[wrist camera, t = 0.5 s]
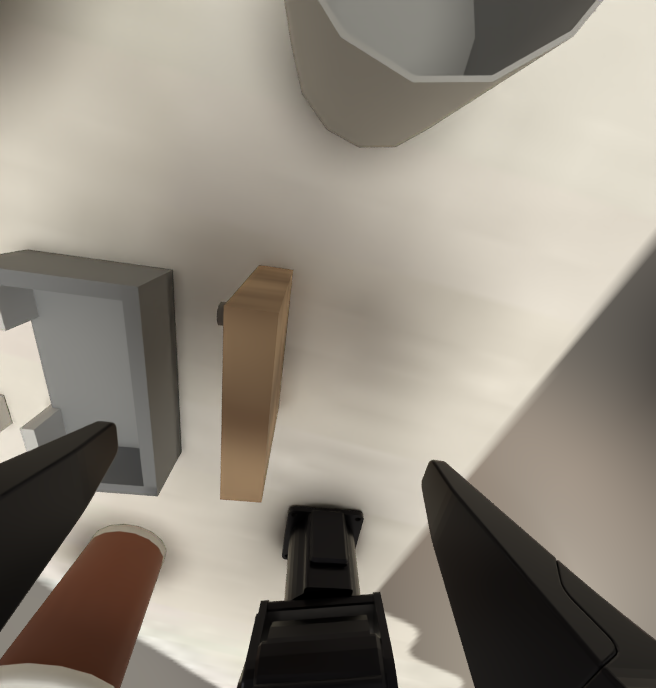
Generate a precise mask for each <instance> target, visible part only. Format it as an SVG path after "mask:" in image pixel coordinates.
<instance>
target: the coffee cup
mask: <svg viewBox="0 0 656 688" xmlns="http://www.w3.org/2000/svg"><path fill="white" fill-rule="evenodd" d="M165 553H166V548H165V546H164V544H163V542H162V540H161V539H160V538H158V537H157V536H156V535H155V534H154V533H152V532H150V531H148V530H146V529H143V528H141V527H138V526H132V525H126V524H120V525H110V526H107V527H105V528H103V529H101V530H98V531H97V533H96V534H95V535H94V536H93V538H92V539H91V541H90V542H89V544H88V545H87V547H86V548H85V549H84V550H83V552H82V553H81V554H80V556H79V557H78V558H77V560H76V561H75V562H74V564H73V565H72V566H71V567H70V569H69V570H68V571H67V573H66V574H65V575H64V577H63V578H62V579H61V581H60V582H59V583H58V584H57V586H56V587H55V588H54V590H53V591H52V592H51V594H50V595H49V596H48V598H47V599H46V600H45V602H44V603H43V604H42V606H41V607H40V608H39V609H38V611H37V612H36V613H35V615H34V616H33V617H32V618H31V620H30V621H29V622H28V624H27V625H26V626H25V628H24V629H23V630H22V632H21V633H20V634H19V636H18V637H17V638H16V639H15V641H14V642H13V643H12V645H11V646H10V647H9V648H8V650H7V651H6V653H5V654H4V655H3V657H2V658H1V659H0V688H120V687H121V683H122V681H123V678H124V675H125V672H126V669H127V666H128V663H129V660H130V657H131V654H132V651H133V648H134V645H135V642H136V639H137V636H138V634H139V631H140V628H141V625H142V622H143V619H144V616H145V613H146V610H147V607H148V604H149V601H150V598H151V595H152V592H153V589H154V586H155V583H156V581H157V578H158V575H159V572H160V569H161V566H162V563H163V561H164V559H165Z"/></svg>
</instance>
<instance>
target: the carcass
mask: <svg viewBox="0 0 656 688" xmlns="http://www.w3.org/2000/svg"><path fill="white" fill-rule="evenodd" d="M30 320H31V323H32V327H33V331H34V335H35V339H36V343H37V347H38V351H39V355H40V360H41V364H42V368H43V372H44V376H45V380H46V384H47V388H48V392H49V396H50V400H51V405H50V406H49V407H47V408H46V409H45V410H43V411H42V412H41V413H39V414H38V415H37V416H36V417H34V418H33V419H32V420H30V421H29V422H28V423H26V424H25V425H24V426H23V427H21V428H20V431H21V435H22V438H23V441H24V444H25V448H26V451H27V452H28V451H30V450H32V449H34V448H37V447H39V446H41V445H44V444H46V443H48V442H50V441H53V440H55V439H57V438H60V437H62V436H64V435H67V434H69V433H71V432H73V431H76V430H78V429H80V428H83V427H85V426H87V425H90V424H92V423H94V422H97V421H106V422H113V423H115V425H116V427H117V437H118V451H117V454H116V456H115V458H114V460H113V462H112V463H111V465H110V467H109V469H108V471H107V472H106V474H105V476H104V478H103V479H102V481H101V483H100V485H99V487H98V488H97V490H96V492H107V493H121V494H134V495H147V496H158V495H159V493H160V491H161V489H162V487H163V485H164V483H165V482H166V480H167V478H168V476H169V474H170V472H171V470H172V468H173V467H174V465H175V463H176V461H177V459H178V457H179V455H180V454H181V435H180V414H179V393H178V372H177V352H176V331H175V310H174V289H173V270H169V269H162V268H155V267H147V266H140V265H133V264H126V263H119V262H111V261H104V260H97V259H90V258H83V257H75V256H68V255H61V254H54V253H47V252H40V251H32V250H22V251H16V252H10V253H4V254H0V330H3V331H6V330H9V329H11V328H14V327H16V326H18V325H21V324H23V323H25V322H28V321H30ZM11 424H12V421H11V418H10V415H9V411H8V408H7V405H6V402H5V399H4V395H0V432H1V431H2V430H4V429H5V428H6V427H8V426H9V425H11Z"/></svg>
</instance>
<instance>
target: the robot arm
mask: <svg viewBox="0 0 656 688" xmlns="http://www.w3.org/2000/svg"><path fill="white" fill-rule="evenodd" d="M117 451H118V437H117V427H116V425H115V423H113V422H106V421H97V422H94V423H92V424H90V425H87V426H85V427H83V428H80V429H78V430H76V431H73V432H71V433H69V434H67V435H64V436H62V437H60V438H57V439H55V440H53V441H50V442H48V443H46V444H44V445H41V446H39V447H37V448H34V449H32V450H30V451H28V452H25V453H23V454H21V455H18V456H16V457H14V458H11V459H9V460H7V461H5V462H2V463H0V632H1V630H2V629H3V627H4V626H5V624H6V623H7V622H8V620H9V619H10V617H11V616H12V614H13V613H14V612H15V610H16V609H17V607H18V606H19V604H20V603H21V601H22V600H23V599H24V597H25V596H26V594H27V593H28V591H29V590H30V589H31V587H32V586H33V584H34V583H35V581H36V580H37V578H38V577H39V576H40V574H41V573H42V571H43V570H44V568H45V567H46V566H47V564H48V563H49V561H50V560H51V558H52V557H53V555H54V554H55V553H56V551H57V550H58V548H59V547H60V545H61V544H62V543H63V541H64V540H65V538H66V537H67V535H68V534H69V533H70V531H71V530H72V528H73V527H74V525H75V524H76V522H77V521H78V520H79V518H80V517H81V515H82V514H83V512H84V511H85V509H86V508H87V506H88V504H89V502H90V501H91V499H92V497H93V496H94V494H95V492H96V490H97V488H98V487H99V485H100V483H101V481H102V479H103V478H104V476H105V474H106V472H107V471H108V469H109V467H110V465H111V463H112V462H113V460H114V458H115V456H116V454H117ZM422 492H423V497H424V503H425V508H426V513H427V519H428V524H429V529H430V534H431V539H432V543H433V547H434V550H435V553H436V557H437V560H438V564H439V567H440V571H441V574H442V577H443V580H444V584H445V588H446V591H447V594H448V598H449V601H450V604H451V608H452V611H453V615H454V618H455V622H456V625H457V628H458V632H459V635H460V638H461V642H462V645H463V649H464V652H465V656H466V659H467V663H468V666H469V669H470V672H471V676H472V680H473V683H474V686H475V688H656V640H655V639H654V638H653V637H651V636H650V635H649V634H647V633H646V632H645V631H643V630H642V629H641V628H640V627H639V626H637V625H636V624H635V623H633V622H632V621H631V620H630V619H628V618H627V617H626V616H624V615H623V614H622V613H621V612H620V611H618V610H617V609H616V608H615V607H613V606H612V605H611V604H610V603H608V602H607V601H606V600H605V599H603V598H602V597H601V596H600V595H598V594H597V593H596V592H595V591H594V590H592V589H591V588H590V587H589V586H588V585H587V584H585V583H584V582H583V581H582V580H581V579H580V578H578V577H577V576H576V575H575V574H574V573H572V572H571V571H570V570H569V569H568V568H567V567H565V566H564V565H563V564H562V563H561V562H560V561H558V560H556V558H555V557H554V556H553V555H552V554H550V553H549V552H548V551H547V550H546V549H545V548H544V547H542V546H541V545H540V544H539V543H538V542H537V541H536V540H534V539H533V538H532V537H531V536H530V535H529V534H528V533H526V532H525V531H524V530H523V529H522V528H521V527H519V526H518V525H517V524H516V523H515V522H514V521H513V520H511V519H510V518H509V517H508V516H507V515H506V514H505V513H503V512H502V511H501V510H500V509H499V508H498V507H496V506H495V505H494V504H493V503H492V502H491V501H490V500H488V499H487V498H486V497H485V496H484V495H483V494H482V493H480V492H479V491H478V490H477V489H476V488H474V487H473V486H472V485H471V484H470V483H469V482H468V481H467V480H465V479H464V478H463V477H462V476H461V475H460V474H458V473H457V472H456V471H455V470H454V469H453V468H452V467H450V466H449V465H448V464H447V463H446V462H444V461H438V460H431V461H430V462H429V463H428V466H427V469H426V471H425V474H424V477H423V479H422ZM363 520H364V518H363V513H362V512H360V511H349V510H336V509H322V508H309V507H296V506H294V507H290V508H289V510H288V516H287V523H286V530H285V537H284V544H283V551H282V557H283V558H284V559H287V560H288V561H287V574H286V587H285V599H284V601H273V602H269V600H265V601H261V603H260V608H259V612H258V614H256V617H255V623H254V627H253V631H252V636H251V640H250V644H249V649H248V653H247V658H246V662H245V665H244V667H243V670H242V673H241V676H240V679H239V682H238V685H237V688H398V683H397V676H396V669H395V663H394V657H393V652H392V647H391V642H390V637H389V633H388V628H387V623H386V618H385V613H384V608H383V603H382V599H381V594H380V592H373V594H367V595H360V588H359V579H358V570H357V562H356V553H355V548H356V544H357V541H358V537H359V534H360V530H361V527H362V523H363Z"/></svg>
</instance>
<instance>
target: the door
mask: <svg viewBox="0 0 656 688" xmlns="http://www.w3.org/2000/svg"><path fill="white" fill-rule="evenodd" d="M292 275H293V270H290V269H283V268H276V267H269V266H262V265H259V266H258V267H257V268H256V270H255V271H254V272H253V273H252V274H251V275H250V276H249V278H248V279H247V280H246V281H245V282H244V283H243V284H242V286H241V287H240V288H239V289H238V290H237V291H236V292H235V294H234V295H233V296H232V297H231V298H230V299H229V300H228V301H227V302H220V304H219V306H218V310H217V323H218V325H222V326H223V375H222V431H221V488H220V499H222V500H235V501H249V502H261V501H262V496H263V490H264V485H265V479H266V474H267V468H268V463H269V457H270V452H271V446H272V441H273V435H274V430H275V424H276V419H277V413H278V408H279V399H280V389H281V380H282V370H283V361H284V351H285V342H286V332H287V323H288V313H289V304H290V294H291V285H292Z"/></svg>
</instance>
